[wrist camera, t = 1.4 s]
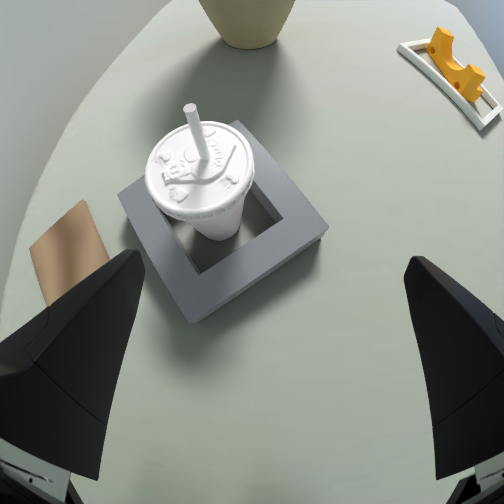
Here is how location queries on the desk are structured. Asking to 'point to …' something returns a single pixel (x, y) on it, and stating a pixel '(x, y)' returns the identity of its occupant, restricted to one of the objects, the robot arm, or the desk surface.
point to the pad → (68, 253)
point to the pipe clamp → (455, 66)
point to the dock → (240, 261)
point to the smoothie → (202, 175)
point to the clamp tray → (409, 53)
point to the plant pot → (248, 20)
